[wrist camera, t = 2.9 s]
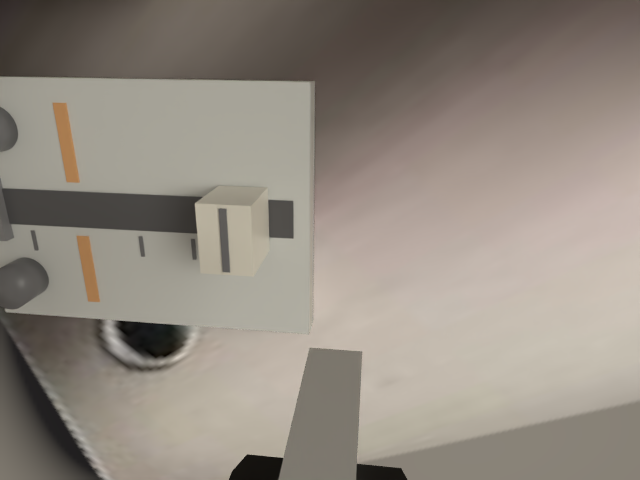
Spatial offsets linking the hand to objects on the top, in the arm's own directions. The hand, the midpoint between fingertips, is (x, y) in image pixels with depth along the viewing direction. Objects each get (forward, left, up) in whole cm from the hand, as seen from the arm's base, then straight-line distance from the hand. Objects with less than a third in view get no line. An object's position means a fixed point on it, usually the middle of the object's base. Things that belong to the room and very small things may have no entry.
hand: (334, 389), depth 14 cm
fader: (0, -7, -15) cm, 17 cm away
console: (0, -14, -18) cm, 22 cm away
